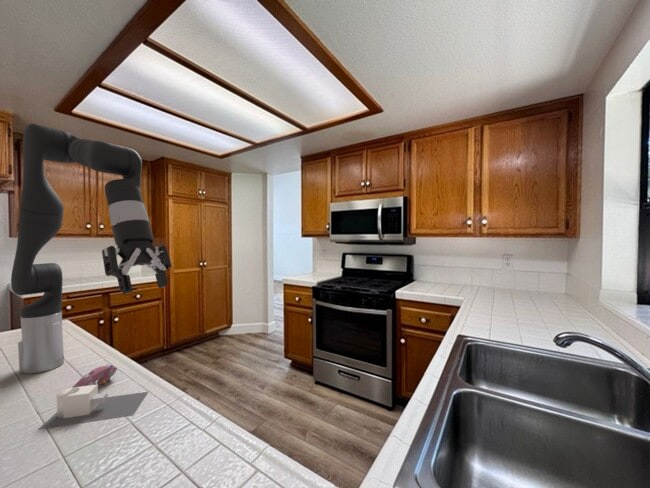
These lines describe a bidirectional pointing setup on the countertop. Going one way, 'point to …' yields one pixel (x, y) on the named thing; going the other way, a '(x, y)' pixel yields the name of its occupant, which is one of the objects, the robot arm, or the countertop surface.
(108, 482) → the countertop surface
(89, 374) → the video game controller
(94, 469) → the countertop surface
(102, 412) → the rubber mat
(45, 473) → the countertop surface
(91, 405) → the plug block
